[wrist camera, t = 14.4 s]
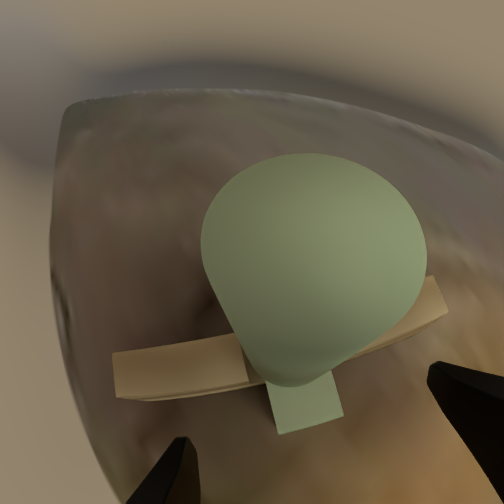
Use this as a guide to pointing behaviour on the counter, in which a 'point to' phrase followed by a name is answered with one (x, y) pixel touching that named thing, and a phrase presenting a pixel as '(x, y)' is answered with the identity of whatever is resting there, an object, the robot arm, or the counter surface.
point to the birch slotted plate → (235, 358)
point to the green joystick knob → (310, 272)
